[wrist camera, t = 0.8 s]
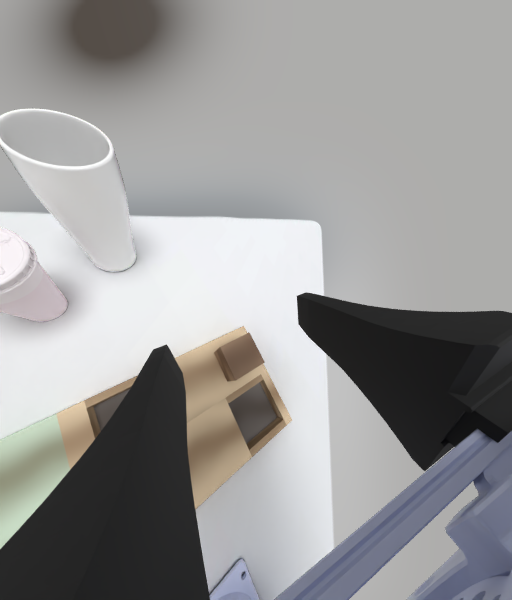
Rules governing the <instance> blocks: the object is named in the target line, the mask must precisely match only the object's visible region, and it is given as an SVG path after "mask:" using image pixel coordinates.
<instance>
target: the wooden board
mask: <svg viewBox="0 0 512 600" xmlns="http://www.w3.org/2000/svg"><path fill="white" fill-rule="evenodd" d="M245 334H247V331H246V329H245V327H244V326H243V327H241V328H239V329H236V330H234V331H232V332H230V333H228V334H226V335H224V336H221V337H219V338H217V339H215V340H213V341H211V342H209V343H206V344H204V345H202V346H200V347H198V348H196V349H194V350H191V351H189V352H187V353H185V354H183V355H181V356H179V357H176V358H175V360H176V362H177V363H178V365H179V367H180V369H181V371H182V372H183V377H184V383H185V390H186V412H187V446H188V458H189V466H190V474H191V483H192V490H193V497H194V504H195V509H196V508H198V507H199V506H200V505H201V504H202V503H203V502H204V501H205V500H206V499H207V498H208V497H209V496H211V495H212V494H213V493H214V492H215V491H216V490H217V489H218V488H219V487H220V486H221V485H222V484H224V483H225V482H226V481H227V480H228V479H229V478H230V477H231V476H232V475H233V474H234V473H235V472H236V471H238V470H239V469H240V468H241V467H242V466H243V465H244V464H245V463H246V462H247V461H248V460H249V459H251V458H252V457H253V456H254V455H255V454H256V453H257V452H258V451H259V450H260V449H261V448H262V447H264V446H265V445H266V444H267V443H268V442H269V441H270V440H271V439H272V438H273V437H274V436H275V435H277V434H278V433H279V432H280V431H281V430H282V429H283V428H284V427H285V426H286V425H287V424H288V423H289V422H291V421H292V419H291V417H290V415H289V413H288V411H287V409H286V407H285V405H284V403H283V401H282V399H281V397H280V395H279V394H278V392H277V390H276V388H275V386H274V384H273V382H272V380H271V378H270V376H269V374H268V372H267V370H266V368H265V366H264V364H261V365H260V366H258V367H257V368H255V369H253V370H252V371H250V372H249V373H247V374H246V375H244V376H242V377H241V378H239V379H238V380H236V381H228V382H227V380H226V378H225V376H224V373H223V371H222V369H221V367H220V365H219V363H218V360H217V358H216V356H215V354H214V352H215V351H216V350H217V349H218V348H219V347H221V346H223V345H225V344H227V343H229V342H231V341H233V340H235V339H237V338H239V337H241V336H243V335H245ZM137 377H138V376H136V377H134V378H132V379H129V380H127V381H125V382H123V383H121V384H119V385H117V386H114V387H112V388H110V389H108V390H106V391H104V392H102V393H99V394H97V395H95V396H93V397H91V398H89V399H87V400H84V401H82V402H80V403H78V404H76V405H74V406H72V407H70V408H67V409H65V410H63V411H61V412H59V413H57V414H55V415H52V416H50V417H48V418H46V419H44V420H42V421H40V422H37V423H35V424H33V425H31V426H29V427H27V428H25V429H22V430H20V431H18V432H16V433H14V434H12V435H10V436H7V437H5V438H3V439H1V440H0V549H1V548H2V547H3V546H4V545H5V543H6V542H7V541H8V540H9V539H10V538H11V537H12V536H13V535H14V534H15V533H16V532H17V530H18V529H19V528H20V527H21V526H22V525H23V524H24V523H25V522H26V520H27V519H28V518H29V517H30V516H31V515H32V514H33V513H34V512H35V510H36V509H37V508H38V507H39V506H40V505H41V504H42V503H43V501H44V500H45V499H46V498H47V497H48V496H49V494H50V493H51V492H52V491H53V490H54V489H55V487H56V486H57V485H58V484H59V483H60V481H61V480H62V479H63V478H64V477H65V475H66V474H67V473H68V472H69V471H70V469H71V468H72V467H73V466H74V465H75V464H76V462H77V461H78V460H79V459H80V458H81V456H82V455H83V454H84V453H85V451H86V450H87V449H88V447H89V446H90V445H91V444H92V442H93V441H94V440H95V438H96V437H97V436H98V434H99V433H100V432H101V431H102V429H103V428H104V426H105V425H106V424H107V422H108V421H109V420H110V418H111V417H112V415H113V414H114V412H115V411H116V409H117V408H118V406H119V405H120V403H121V402H122V400H123V399H124V397H125V396H126V394H127V393H128V391H129V390H130V388H131V386H132V385H133V383H134V381H135V380H136V378H137Z"/></svg>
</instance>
